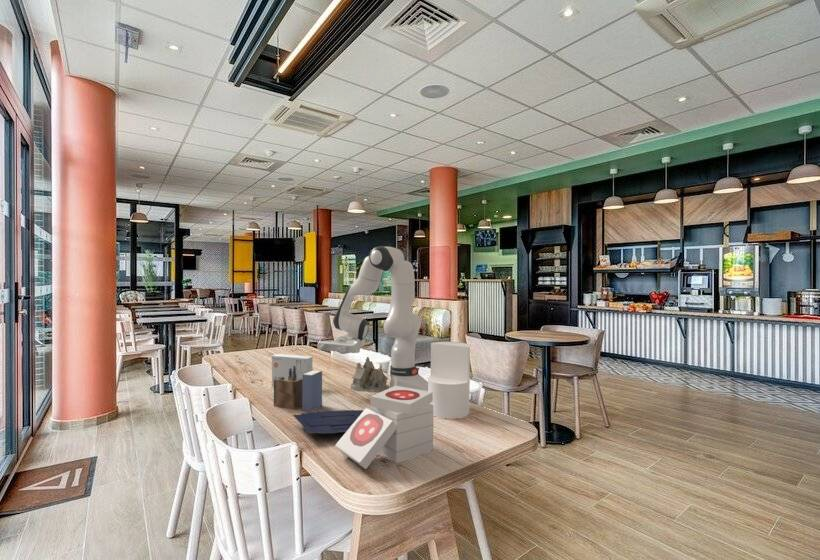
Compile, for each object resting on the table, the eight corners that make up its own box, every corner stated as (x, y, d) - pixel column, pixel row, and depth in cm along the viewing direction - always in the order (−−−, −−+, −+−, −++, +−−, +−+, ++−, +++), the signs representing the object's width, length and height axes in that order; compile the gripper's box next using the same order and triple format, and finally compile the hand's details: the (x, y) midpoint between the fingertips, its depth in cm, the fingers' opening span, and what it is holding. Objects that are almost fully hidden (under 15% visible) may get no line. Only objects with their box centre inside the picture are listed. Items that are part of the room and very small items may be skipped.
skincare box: (271, 386, 206) (271, 355, 206) (277, 383, 211) (277, 353, 211) (307, 390, 200) (307, 358, 200) (313, 387, 205) (313, 356, 205)
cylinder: (439, 402, 181) (439, 340, 181) (475, 409, 172) (476, 343, 172) (420, 414, 166) (420, 346, 166) (459, 422, 157) (459, 350, 157)
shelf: (311, 400, 183) (311, 375, 183) (294, 408, 172) (294, 381, 171) (290, 398, 187) (290, 373, 187) (273, 405, 175) (273, 379, 175)
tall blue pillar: (322, 405, 176) (322, 370, 176) (311, 411, 169) (311, 375, 169) (313, 404, 178) (313, 370, 178) (302, 410, 170) (302, 374, 170)
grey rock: (346, 387, 205) (348, 357, 204) (372, 382, 216) (374, 354, 215) (364, 396, 193) (366, 365, 193) (390, 390, 204) (393, 361, 204)
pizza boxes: (332, 455, 128) (332, 398, 128) (406, 432, 146) (407, 383, 146) (364, 479, 113) (364, 415, 113) (443, 451, 131) (443, 395, 131)
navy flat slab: (290, 420, 155) (291, 411, 155) (361, 416, 170) (362, 407, 170) (309, 443, 134) (310, 432, 134) (389, 436, 149) (390, 426, 149)
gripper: (326, 336, 203) (310, 340, 190) (362, 339, 196) (349, 344, 183) (326, 349, 203) (310, 354, 190) (362, 352, 196) (348, 358, 183)
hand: (329, 349), depth 186 cm, fingers open, 8 cm apart
